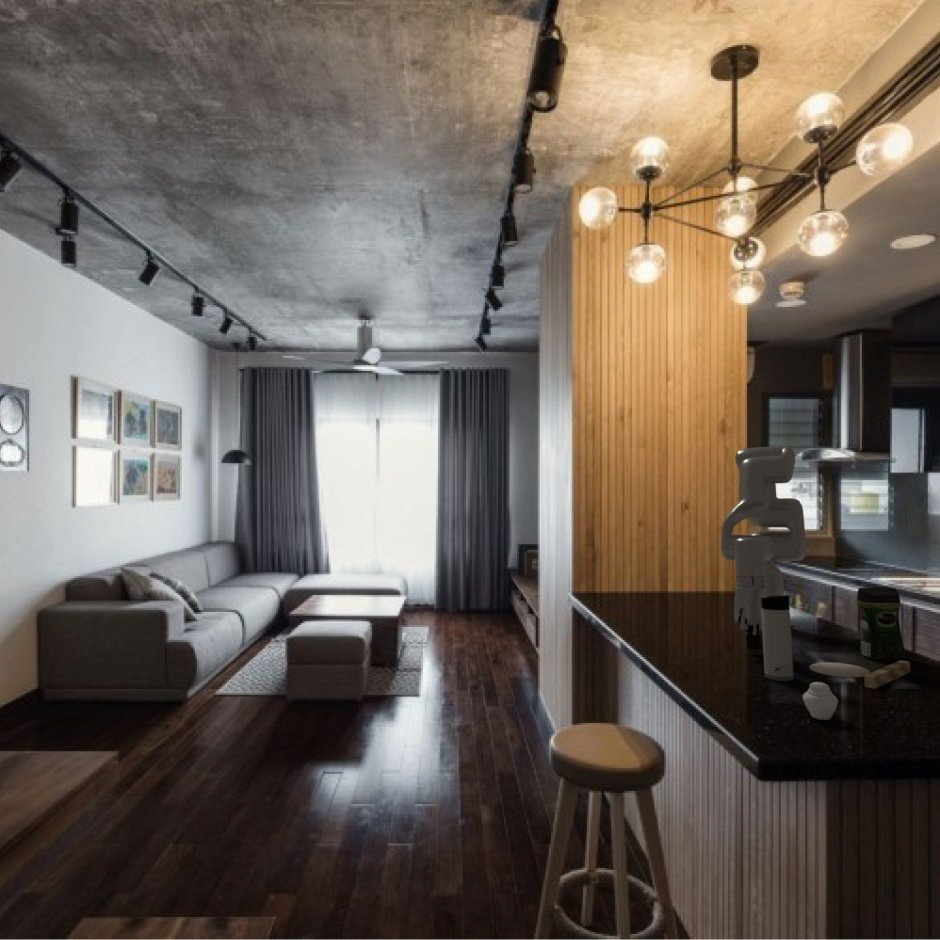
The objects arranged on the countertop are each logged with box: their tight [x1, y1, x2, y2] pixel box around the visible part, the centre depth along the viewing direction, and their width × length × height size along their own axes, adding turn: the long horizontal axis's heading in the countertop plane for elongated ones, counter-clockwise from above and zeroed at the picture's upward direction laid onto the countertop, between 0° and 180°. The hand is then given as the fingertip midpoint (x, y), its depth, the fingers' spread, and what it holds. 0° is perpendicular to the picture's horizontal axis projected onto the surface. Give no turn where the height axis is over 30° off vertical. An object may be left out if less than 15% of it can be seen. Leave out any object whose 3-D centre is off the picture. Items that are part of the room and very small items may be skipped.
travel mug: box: [761, 594, 794, 682], centre depth 153 cm, size 6×7×20 cm
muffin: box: [802, 681, 839, 721], centre depth 126 cm, size 6×6×7 cm
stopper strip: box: [863, 660, 911, 689], centre depth 149 cm, size 20×2×2 cm, turn 126°
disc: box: [808, 661, 871, 678], centre depth 158 cm, size 13×13×1 cm
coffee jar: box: [856, 586, 906, 662], centre depth 168 cm, size 10×8×19 cm
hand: (754, 648), depth 176 cm, fingers closed
